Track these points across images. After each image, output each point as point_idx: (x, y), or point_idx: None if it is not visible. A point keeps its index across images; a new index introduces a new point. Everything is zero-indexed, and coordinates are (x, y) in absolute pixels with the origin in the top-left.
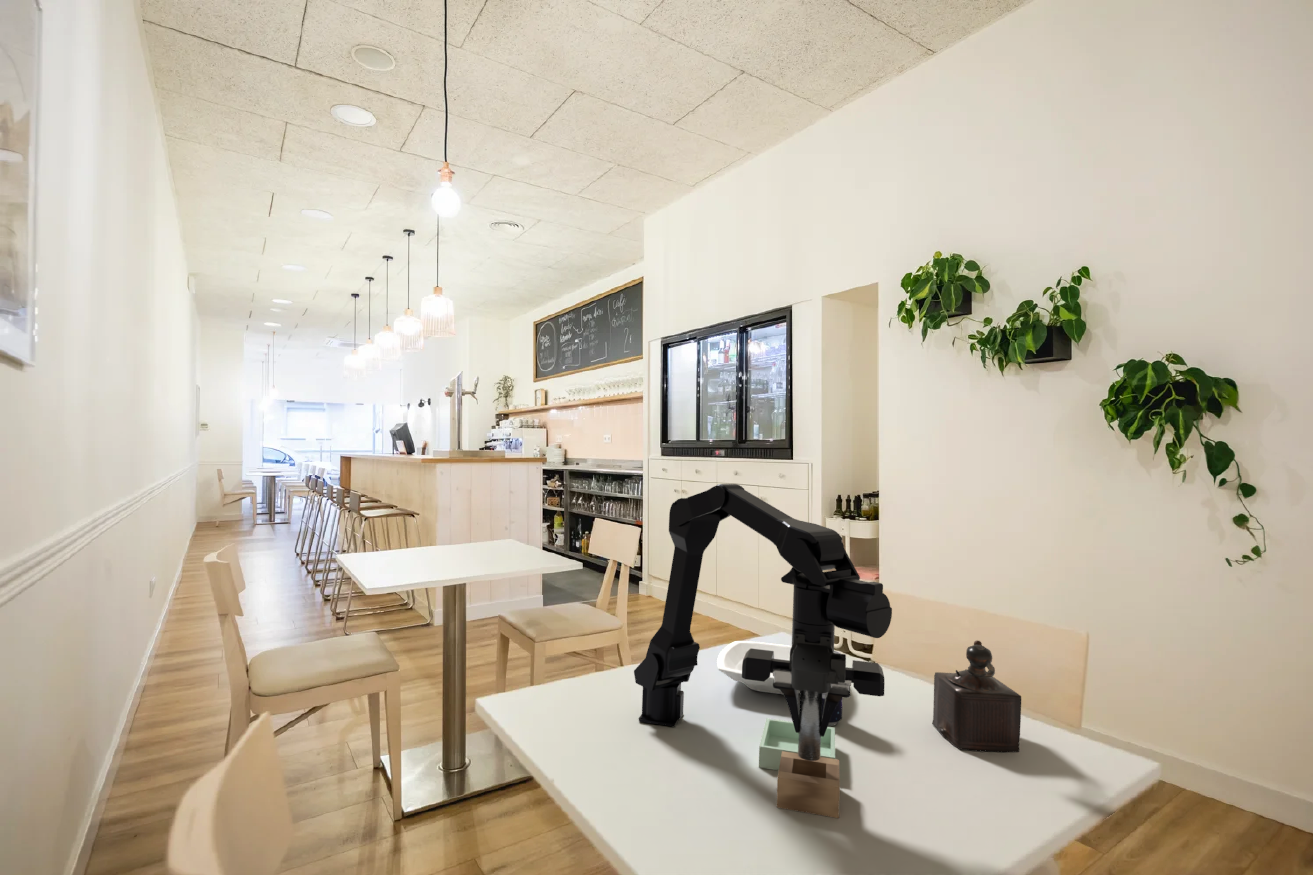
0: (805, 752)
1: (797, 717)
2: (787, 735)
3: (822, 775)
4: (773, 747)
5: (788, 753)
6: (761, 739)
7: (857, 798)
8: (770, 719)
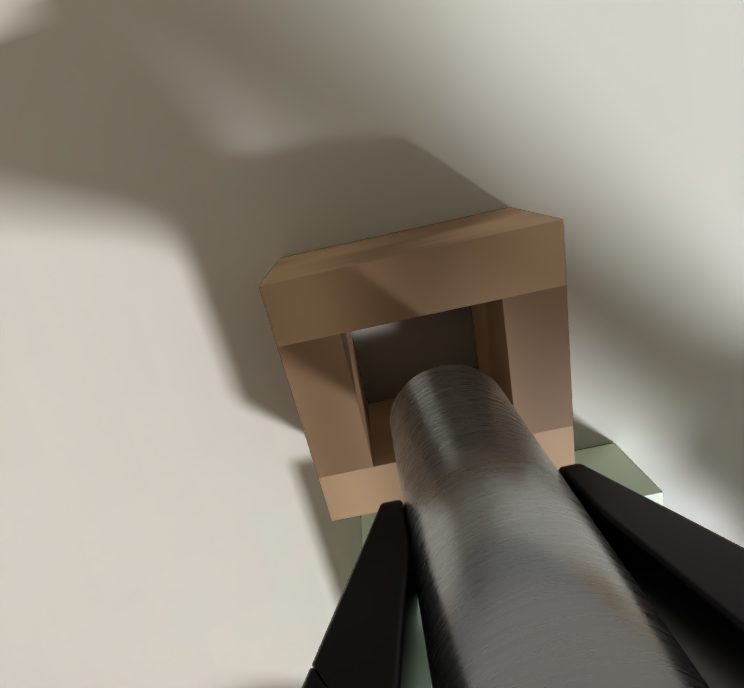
0: (468, 382)
1: (644, 539)
2: None
3: (383, 432)
4: None
5: None
6: None
7: (260, 421)
8: None
